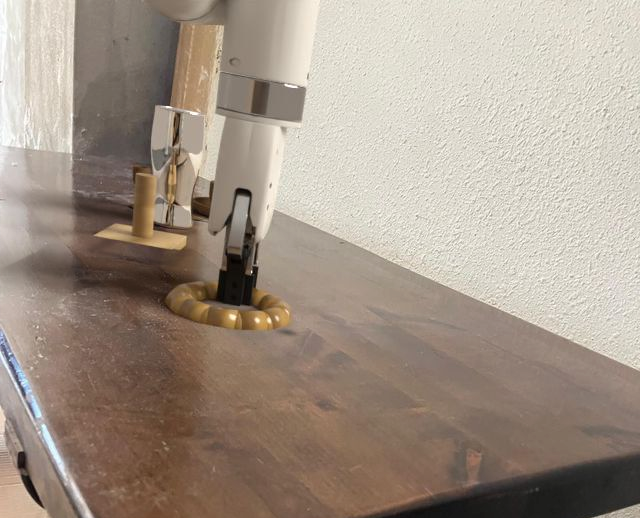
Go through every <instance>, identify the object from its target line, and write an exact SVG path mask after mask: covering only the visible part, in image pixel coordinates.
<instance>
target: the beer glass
mask: <svg viewBox="0 0 640 518" xmlns="http://www.w3.org/2000/svg"><path fill="white" fill-rule="evenodd" d="M154 106H155V108H154V115H153V120H152V128H151V137H150V138H151V140H150V159H151V171H152V175H155V176H157V185H156V198H155V211H154V223H153V225H155V226H159V227H162V228H168V229H176V230H188V229H192V228H193V226H194V219H193V218H192V215H193V205H192V199H193V198H194V192H195V189H196V185H197V181H198V178H199V173H200V170H201V166H202V162H203V156H204V151H205V150H204V149H205V136H206V134H205V133H206V113H204V112H200V111H196V110H191V109H185V108H180V107H175V106H168V105H160V104H157V105H154Z"/></svg>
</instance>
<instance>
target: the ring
mask: <svg viewBox="0 0 640 518" xmlns="http://www.w3.org/2000/svg"><path fill="white" fill-rule="evenodd" d="M217 287H218V281H210V280H198V281H192V282H184V283H180V284H177V285H176V286H174V287H173V288H172V290H171V291H170V292H169V293H168V294H167V296H166V297H165V301H164V304H165V305H166V306H167V307H168V308H169V309H170V310H171V311H172V312H173V313H174V314H176V315H178V316H180V317H183V318H185V319H188V320H191V321H194V322H197V323H199V324H203V325H206V326H207V325H208V326H212V327H219V328H225V329H231V330H236V331H272V330H276V329H279V328H283V327H287V326H289V325H290V324H291V321H292V316H293V312H292V311H293V310H292V308H291V306H290V305H289V304H288V303H287V301H285V300H283V299H281V298H280V297H279V296H278V295H276V294H274V293H271V292H268V291H266V290H264V289H263V290H262V289H260V288H258V287H256V288H254V287H253V291H252V299H251V305H250V306H253V307H257V308H259V309H260V310H244V309H243V310H241V309H239V310H238V309H232V308H226V307H220V306H215V305H210V304H208V303H205V302H202V301H203V300H207V299H212V300H213V299H214V300H216V296H217Z"/></svg>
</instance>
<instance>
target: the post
mask: <svg viewBox="0 0 640 518" xmlns="http://www.w3.org/2000/svg"><path fill="white" fill-rule="evenodd" d="M156 185H157V176H155V175H153V174H151V173H150V174H146V173H136V180H135V184H134V195H133V196H134V198H133V204H134V208H133V211H132V225H127V224H123V223H113V224H112V225H109V226H108V227H106V228H103V230H101V231H99V232H97V233H95V234H93V237H99V238H103V239H109V240H115V241H121V242H126V243H132V244H137V245H143V246H149V247H154V248H160V249H166V250H171V251H172V250H177V251H182V249H184V247H186V246H187V238H188V237H187V235H182V234H178V233H172V232H166V231H162V230H155V229H154V224H153V223H154V211H155V198H156Z"/></svg>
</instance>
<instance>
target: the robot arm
mask: <svg viewBox="0 0 640 518" xmlns="http://www.w3.org/2000/svg"><path fill="white" fill-rule="evenodd" d="M140 2H141V3H143V4H144V5H145V6H147V7H149V8H150V9H152V10H153V11H155V12H157V13H159V14H160V15H161V16H163V17H165V18H167V19H169V20H171V21H173V22H176V23H179V24H185V25H193V26H194V25H196V26H197V25H198V26H199V25H200V26H219V27H221V26H223V33H222V41H221V42H222V44H221V51H220V63H219V72H218V83H217V91H216V101H215V110H214V114H215V115H218V116H222V117H224V123H223V127H222V132H221V135H220V143H219V148H218V154H217V159H216V168H215V175H214V180H215V181H214V188H213V195H212V202H211V209H210V216H209V217H208V219H209V220H208V223H207V224H208V225H207V231H208V233H209V234H210V235H211V236H214V237H216V236H217V235H218V234H219V233H221V231H222V230H223V229H225V234H224V240H223V241H224V242H223V250H222V258H221V259H222V260H221V266H220V268H219V271H218V272H219V273H218V278H217V279H218V280H217V282H218V287H217V296H216V299H215V301H218V302H223V304H224V305H229V306H235V307H241V305H242V306H247V307H251V306H252V305H251V299H252V291H253V287H254V288H257V283H258V275H259V268H260V267H259V266H258V261H259V256H260V255H259V254H260V247H261V242H262V241H263V240H264V238H265V237H266V235H267V233H268V231H269V229H270V228H271V227H270V226H271V224H272V219H273V214H274V211H275V206H276V201H277V197H278V193H279V186H280V180H281V172H282V167H283V162H284V161H283V160H284V154H285V148H286V147H285V146H286V139H287V133H288V129H294V130H296V129H297V130H301V129H302V125H303V124H302V122H303V118H304V110H305V104H306V97H307V92H308V91H307V88H308V83H309V75H310V71H311V70H310V69H311V63H312V56H313V48H314V42H315V35H316V29H317V23H318V15H319V9H320V3H321V0H140Z"/></svg>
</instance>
